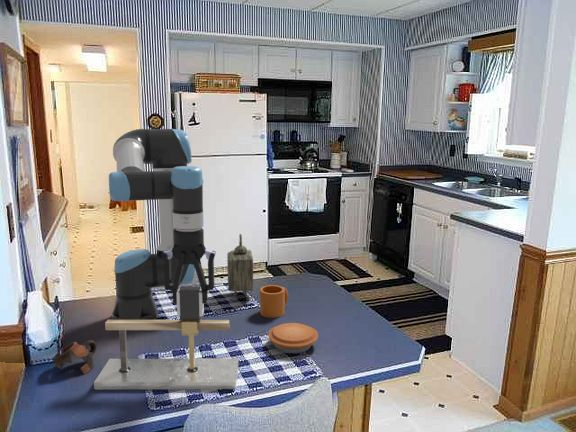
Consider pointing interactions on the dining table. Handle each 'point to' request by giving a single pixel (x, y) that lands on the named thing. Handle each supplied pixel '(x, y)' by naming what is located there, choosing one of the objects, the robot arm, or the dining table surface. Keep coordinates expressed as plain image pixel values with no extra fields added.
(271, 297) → the mug
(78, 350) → the broken clay pot
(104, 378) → the hole plate
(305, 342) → the pie
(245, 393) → the dining table surface
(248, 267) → the tabletop clock
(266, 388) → the dining table surface
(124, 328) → the bar
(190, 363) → the block
